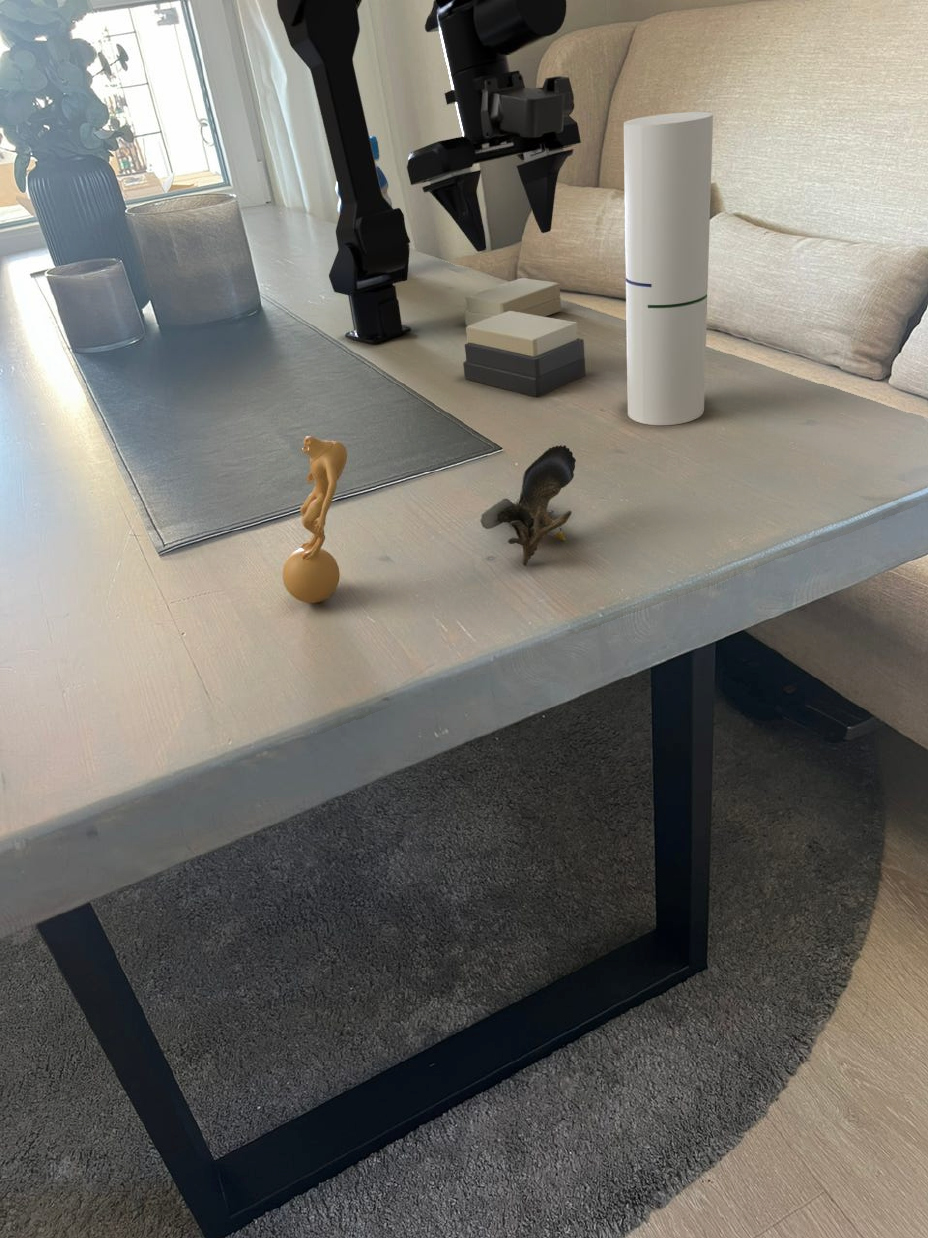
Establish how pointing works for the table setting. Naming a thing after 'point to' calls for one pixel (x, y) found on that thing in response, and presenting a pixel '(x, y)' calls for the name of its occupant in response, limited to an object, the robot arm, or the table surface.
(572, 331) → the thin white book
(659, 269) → the cylindrical container
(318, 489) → the figurine
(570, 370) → the grey books
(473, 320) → the white books
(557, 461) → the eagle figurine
